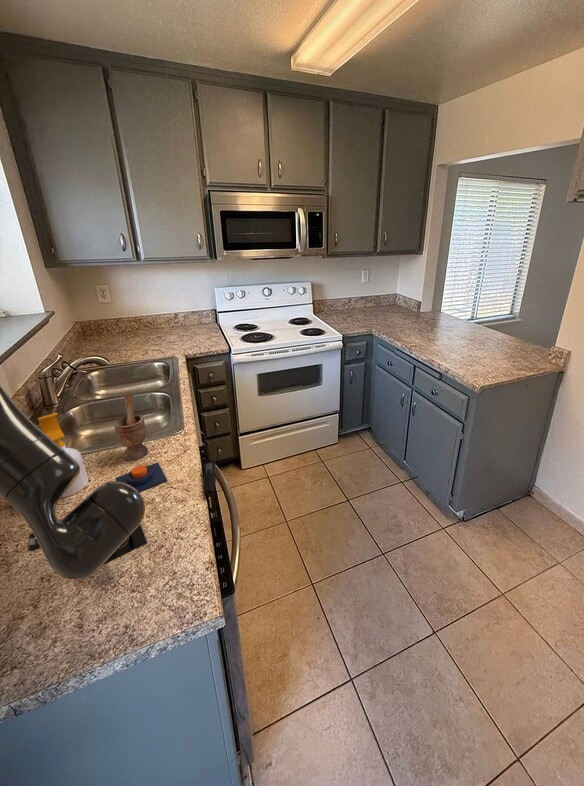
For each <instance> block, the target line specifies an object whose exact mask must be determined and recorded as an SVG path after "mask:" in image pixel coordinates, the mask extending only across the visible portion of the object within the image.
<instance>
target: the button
mask: <svg viewBox="0 0 584 786" xmlns="http://www.w3.org/2000/svg"><path fill="white" fill-rule="evenodd" d="M146 466H147V465H144V464H140V465H137V466H135V467H133V468H132V469H131V470H132V471H131V470H130V471H131V473H132V477H133V478H135V479H136V478H141V477H143V476H145V475H146V474H147V468H146Z"/></svg>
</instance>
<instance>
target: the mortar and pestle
mask: <svg viewBox="0 0 584 786" xmlns="http://www.w3.org/2000/svg"><path fill="white" fill-rule="evenodd" d="M123 400H124V406H125V411H126V415H124V416H121V417H120V418H117V419H116V420H115V421H114V422H113V426H114V430H115V434H116V437H117V439H118V441H119V443H120V444H121V446H123V447H125V448H126V449H125V450H124V453H123V459H124V460H125V461H128V462H134V461H138V460H140V459H143V458H144V457H146V456H147V455H148V453H149V449H148V447H147V446H146V445H145V444H143V442H144V441H145V440H146V433H147V432H146V430H147V429H146V424H145V423H146V422H145V418H144V416H143V415H141V414H136V413H135V412H134V411H135V409H134V406H135V395H134V393H132V392H131V393H125V394H124V399H123Z"/></svg>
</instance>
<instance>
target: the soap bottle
mask: <svg viewBox="0 0 584 786" xmlns="http://www.w3.org/2000/svg"><path fill="white" fill-rule="evenodd" d="M57 415H58V412H53V413H50V414H46V415H43V416H41V417H38V418H37V421H38V424H39V428H40V430H41V431H43V432H44V433H45V434H46V435H47V436H48V437H49V438H51V439H52V440H53V441H54V442H55V443H56V444H57V445H59V446H60V447H61V448H62V449H63V450H64V451H65V452H66V453H68V454H69V455H70V456H71V457H72V458H73V459H74V460H75V461H76V462H77V463H78V464H79V466H80V473H79V475H78V477H77V478H76V480H75V481H74V482H73V484H72V485H71V486H70V487H69V488H68V490H67V491H66V492H65V493H64V494H63V496H62V497H61V498H66V497H71V496H73V495H75V494H77V493H79V492H81V491H83V489H85V488H86V486H87V485H88V483H89V478H88V474H87V471H86V467H85V464H84V460H83V457H82V454H81V452H80V451H79V450H78V449H76V448H73V447H66V444H65V442H64V440H63V441H62V439H63V438H65V434H64V432H63V431H62V429H61V426H60V424H59V421H58V417H57ZM61 498H60V499H61Z"/></svg>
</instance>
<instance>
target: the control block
mask: <svg viewBox="0 0 584 786" xmlns="http://www.w3.org/2000/svg"><path fill="white" fill-rule="evenodd" d="M145 466H146V468H147V474H146V475H145V476H143V477H141V478H136V479H135V478H133V477H132V473H131V471H132V469H131V470H130V471H128V473H125V474H122V475H120V476H117V477H115V478H114V479H115V480H114V481H117V482H123V483H126V484H128V485H130V486H132V487H133V488H135V489H136V490H137V491H138V492H139V493H140V494H141V493H143V492H145V491H147V490H150V489H152V488H155V487H157V486H159V485H162V484H164V483H167V482H168V479H167V476H166V475H165V473H164V470H163V469H162V467H161V465H160V464H159V462H155V463H151V464H149V465H145Z"/></svg>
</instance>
